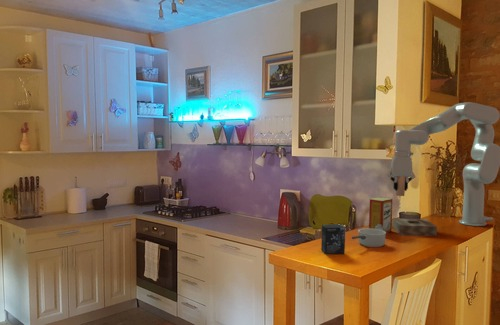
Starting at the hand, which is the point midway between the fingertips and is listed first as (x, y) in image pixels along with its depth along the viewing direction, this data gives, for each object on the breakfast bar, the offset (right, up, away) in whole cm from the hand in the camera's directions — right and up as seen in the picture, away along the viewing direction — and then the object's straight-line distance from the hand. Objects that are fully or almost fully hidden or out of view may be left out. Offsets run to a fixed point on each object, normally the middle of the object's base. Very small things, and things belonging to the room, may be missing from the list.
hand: (400, 190), depth 212 cm
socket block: (+2, -19, -13) cm, 23 cm away
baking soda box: (-14, -19, -13) cm, 27 cm away
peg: (0, -3, 0) cm, 3 cm away
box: (-44, -21, -48) cm, 69 cm away
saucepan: (-28, -21, -39) cm, 53 cm away
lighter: (-16, -20, -23) cm, 35 cm away
